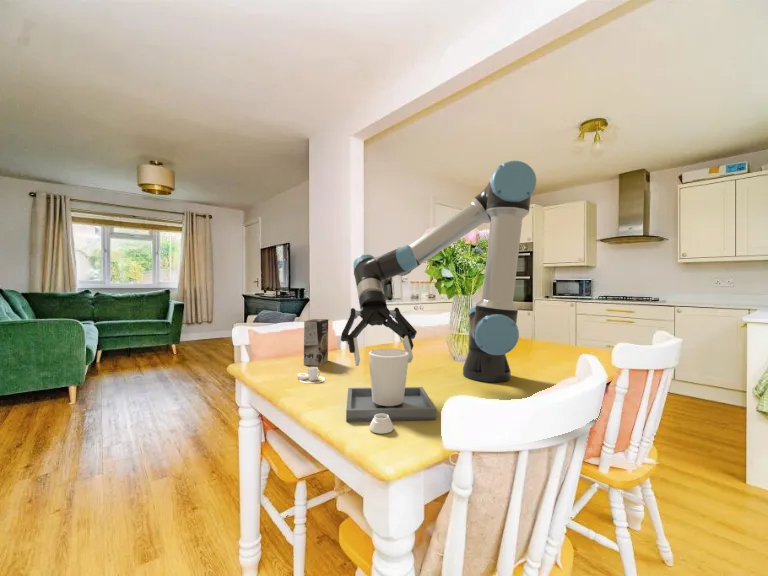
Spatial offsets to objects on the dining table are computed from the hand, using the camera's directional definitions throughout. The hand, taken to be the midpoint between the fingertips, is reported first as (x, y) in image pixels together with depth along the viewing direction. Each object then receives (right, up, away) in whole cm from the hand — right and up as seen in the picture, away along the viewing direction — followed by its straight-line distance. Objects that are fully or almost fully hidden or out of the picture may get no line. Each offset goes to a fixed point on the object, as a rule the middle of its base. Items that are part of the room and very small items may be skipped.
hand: (384, 361), depth 86 cm
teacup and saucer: (-23, -11, +25) cm, 35 cm away
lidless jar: (-1, -12, -14) cm, 18 cm away
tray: (+1, -11, -1) cm, 11 cm away
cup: (+1, -10, -1) cm, 11 cm away
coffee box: (-26, -10, +44) cm, 52 cm away
